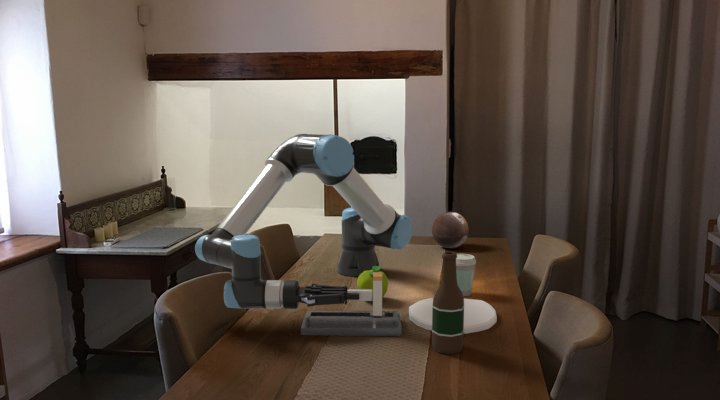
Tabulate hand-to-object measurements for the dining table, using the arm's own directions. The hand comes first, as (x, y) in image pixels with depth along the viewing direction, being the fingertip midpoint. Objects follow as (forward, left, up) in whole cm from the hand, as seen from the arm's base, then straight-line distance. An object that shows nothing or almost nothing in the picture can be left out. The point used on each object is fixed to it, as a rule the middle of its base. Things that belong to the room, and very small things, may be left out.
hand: (372, 295), depth 169 cm
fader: (+1, +1, -7) cm, 7 cm away
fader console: (-3, -4, -9) cm, 10 cm away
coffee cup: (-10, +41, -9) cm, 43 cm away
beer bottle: (+22, +8, -9) cm, 25 cm away
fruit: (-20, +14, -9) cm, 26 cm away
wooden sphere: (-60, +79, -9) cm, 99 cm away
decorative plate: (+5, +24, -10) cm, 26 cm away
